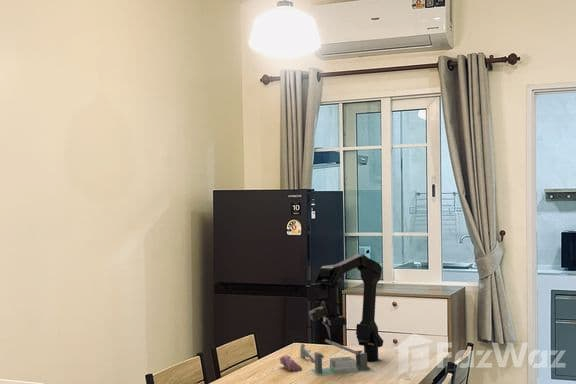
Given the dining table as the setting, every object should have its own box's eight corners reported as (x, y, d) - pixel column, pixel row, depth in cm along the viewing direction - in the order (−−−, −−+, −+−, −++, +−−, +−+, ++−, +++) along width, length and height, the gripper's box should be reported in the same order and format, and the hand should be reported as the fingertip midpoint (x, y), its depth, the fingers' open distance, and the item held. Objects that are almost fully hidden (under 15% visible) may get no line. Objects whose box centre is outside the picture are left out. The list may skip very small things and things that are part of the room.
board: (310, 371, 257) (310, 369, 257) (364, 366, 262) (364, 364, 262) (317, 377, 247) (317, 375, 247) (373, 371, 253) (373, 370, 253)
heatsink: (329, 368, 258) (329, 357, 258) (349, 366, 260) (349, 356, 260) (336, 373, 250) (335, 362, 250) (356, 371, 252) (356, 360, 252)
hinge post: (353, 366, 260) (353, 350, 260) (363, 365, 261) (362, 350, 261) (359, 370, 253) (359, 354, 253) (369, 369, 254) (369, 353, 254)
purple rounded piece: (283, 372, 264) (275, 357, 263) (293, 365, 265) (285, 350, 264) (294, 377, 255) (286, 361, 253) (303, 370, 256) (295, 355, 255)
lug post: (315, 371, 254) (314, 352, 255) (321, 370, 255) (320, 351, 255) (318, 373, 250) (317, 354, 251) (324, 372, 251) (323, 354, 251)
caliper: (300, 358, 282) (299, 343, 282) (302, 357, 282) (302, 342, 282) (320, 368, 263) (319, 351, 263) (323, 367, 263) (322, 351, 263)
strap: (324, 342, 255) (326, 338, 255) (360, 356, 258) (362, 352, 259) (327, 343, 252) (328, 339, 252) (363, 358, 255) (365, 354, 256)
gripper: (303, 298, 262) (304, 338, 261) (317, 304, 244) (318, 347, 243) (330, 296, 265) (332, 336, 264) (346, 302, 246) (347, 344, 246)
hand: (332, 340), depth 254 cm, fingers closed
